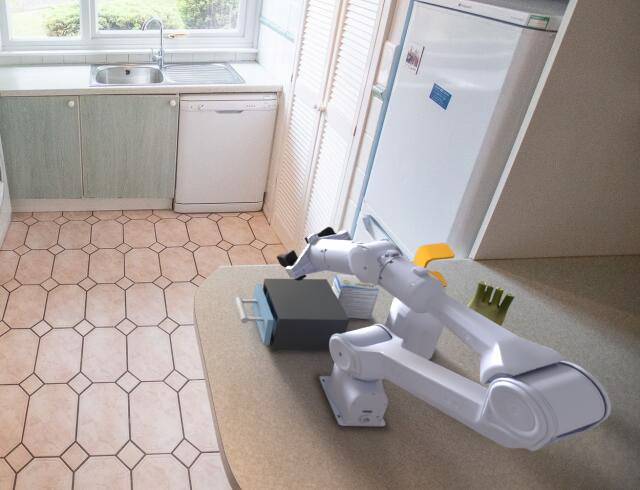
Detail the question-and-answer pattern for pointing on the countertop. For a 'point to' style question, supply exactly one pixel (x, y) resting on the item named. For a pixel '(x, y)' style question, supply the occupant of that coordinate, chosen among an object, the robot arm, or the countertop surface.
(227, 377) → the countertop surface
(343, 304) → the medicine box
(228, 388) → the countertop surface
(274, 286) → the dark grey drawer cabinet
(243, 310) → the blue drawer
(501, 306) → the fennel bulb
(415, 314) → the soap bottle
